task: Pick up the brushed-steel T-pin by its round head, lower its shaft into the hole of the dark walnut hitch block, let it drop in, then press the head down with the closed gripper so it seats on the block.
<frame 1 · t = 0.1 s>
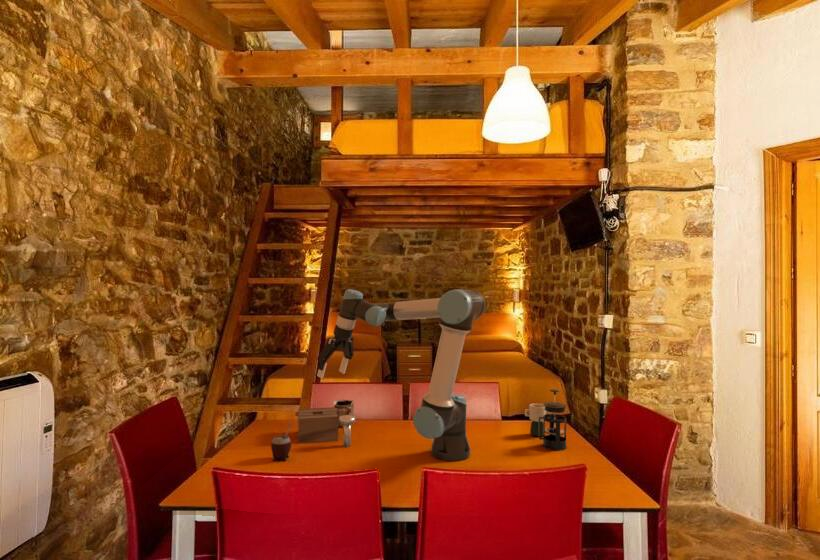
hand: (331, 374, 199), 28 cm above the table, tool tilted 20°, fingers open, 13 cm apart
character mug: (537, 435, 211), on the table
hitch block: (317, 436, 206), on the table
mate gourd: (282, 459, 179), on the table
steel pin: (346, 445, 194), on the table
french press: (553, 446, 196), on the table
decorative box: (341, 422, 228), on the table
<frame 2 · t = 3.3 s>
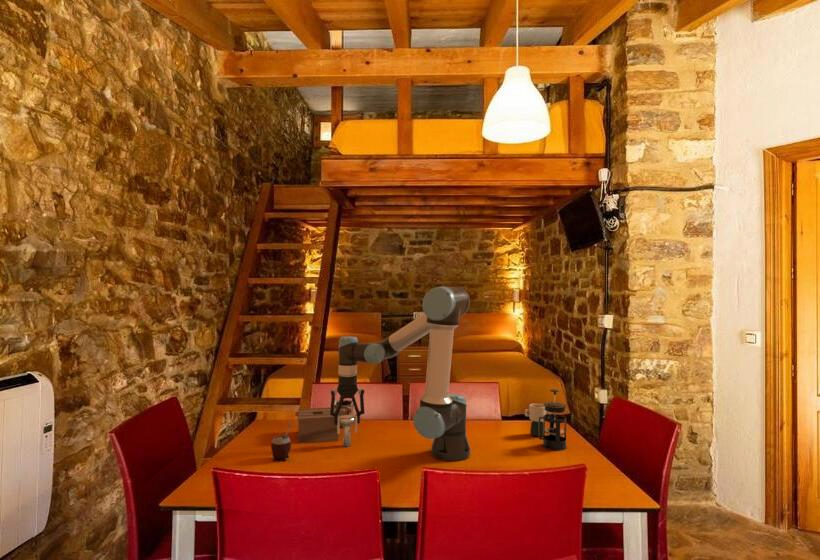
hand: (347, 432, 194), 5 cm above the table, tool pointing down, fingers closed on steel pin, 6 cm apart
steel pin: (346, 445, 194), on the table, touching gripper
everything else where it was.
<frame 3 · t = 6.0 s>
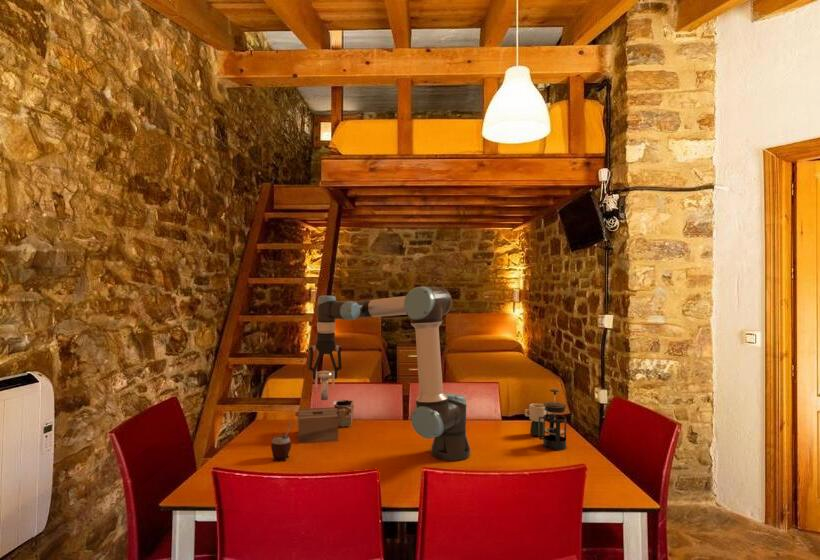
hand: (324, 386, 204), 22 cm above the table, tool pointing down, fingers closed on steel pin, 6 cm apart
steel pin: (324, 399, 203), point 16 cm above the table, touching gripper
everything else where it was.
when the fingers open (12 cm above the table, at t = 8.8 s): steel pin drops 6 cm, resting on hitch block.
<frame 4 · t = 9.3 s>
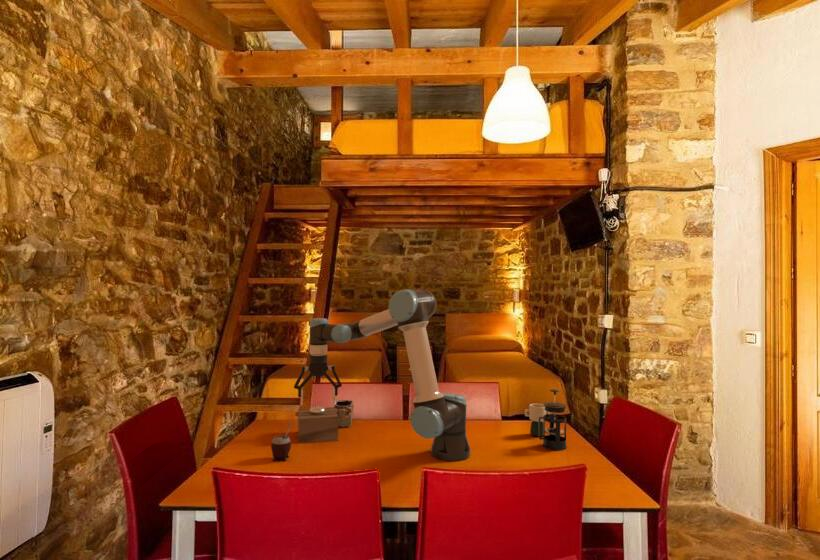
hand: (317, 404, 206), 14 cm above the table, tool pointing down, fingers open, 13 cm apart
steel pin: (317, 434, 206), resting on hitch block
everything else where it was.
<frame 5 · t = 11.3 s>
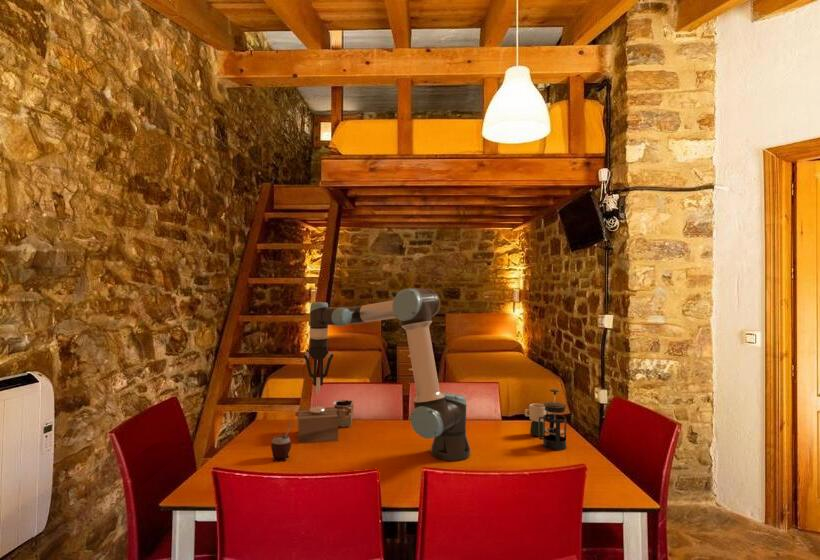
hand: (318, 393, 206), 18 cm above the table, tool pointing down, fingers closed
nothing on the table moved.
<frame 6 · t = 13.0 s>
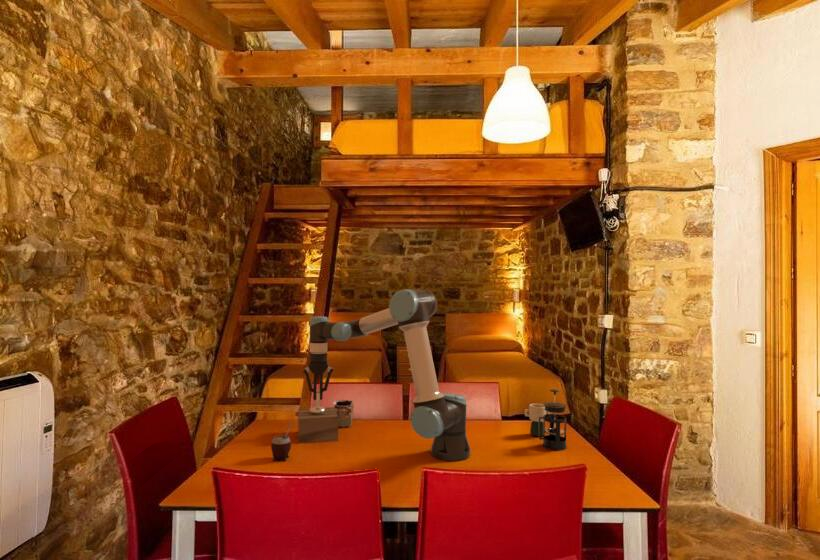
hand: (317, 407, 206), 12 cm above the table, tool pointing down, fingers closed
steel pin: (317, 434, 206), resting on hitch block, touching gripper
everything else where it was.
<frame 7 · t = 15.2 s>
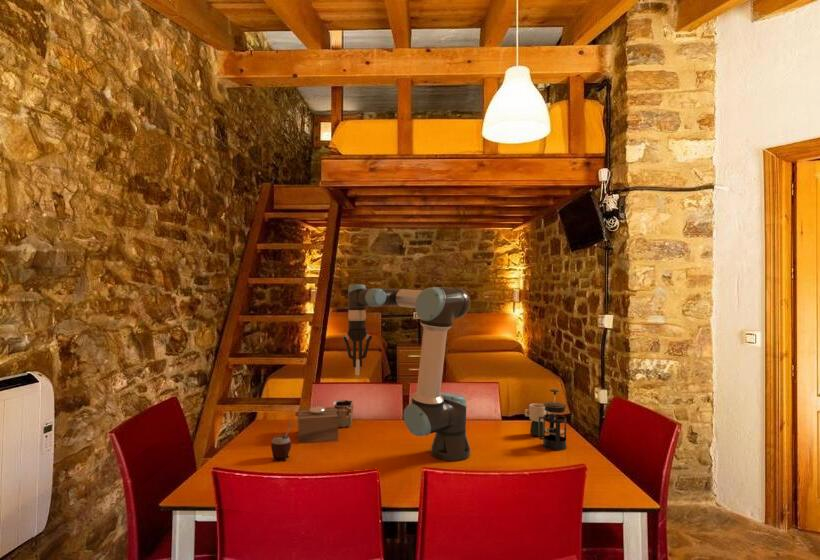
hand: (357, 374, 208), 26 cm above the table, tool pointing down, fingers closed
steel pin: (317, 434, 206), resting on hitch block
everything else where it was.
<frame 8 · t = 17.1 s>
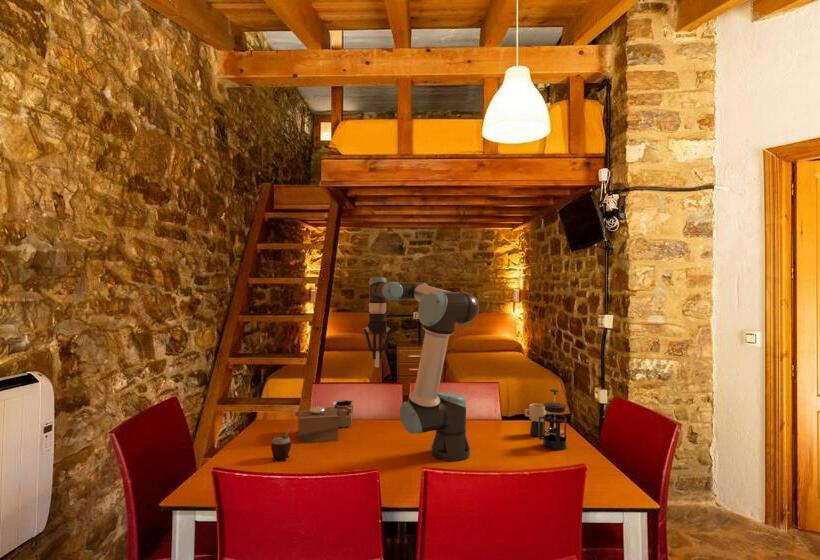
hand: (376, 366, 210), 29 cm above the table, tool pointing down, fingers closed
nothing on the table moved.
at the end: steel pin 0.1 cm off-centre on the hitch block, point 0.5 cm above the hitch block's base; steel pin tilted 0°; the gripper is holding nothing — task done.
